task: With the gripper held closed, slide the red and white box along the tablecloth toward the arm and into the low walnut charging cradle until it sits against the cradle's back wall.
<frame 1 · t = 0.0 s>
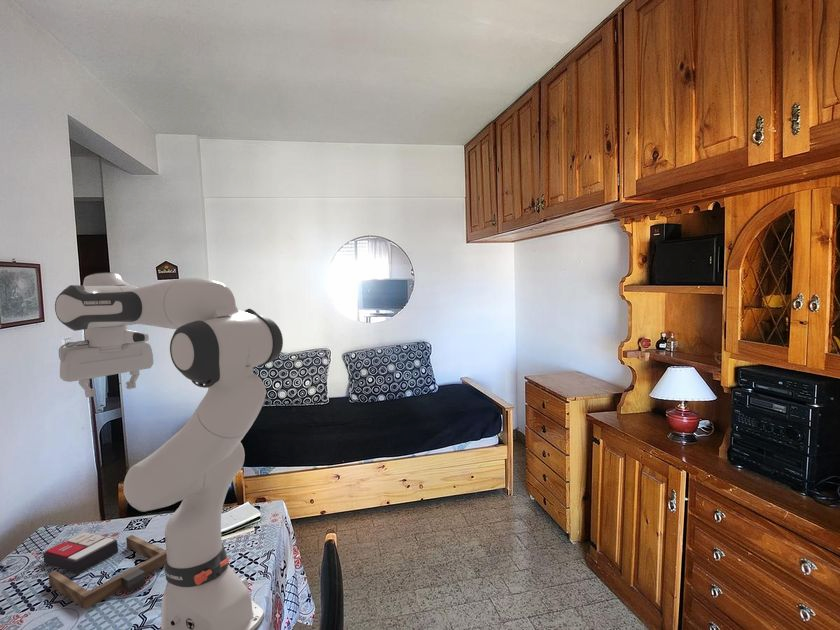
hand: (111, 392, 115), 48 cm above the table, tool pointing down, fingers open, 8 cm apart
cradle: (110, 572, 119), on the table
red and white box: (81, 558, 127), on the table
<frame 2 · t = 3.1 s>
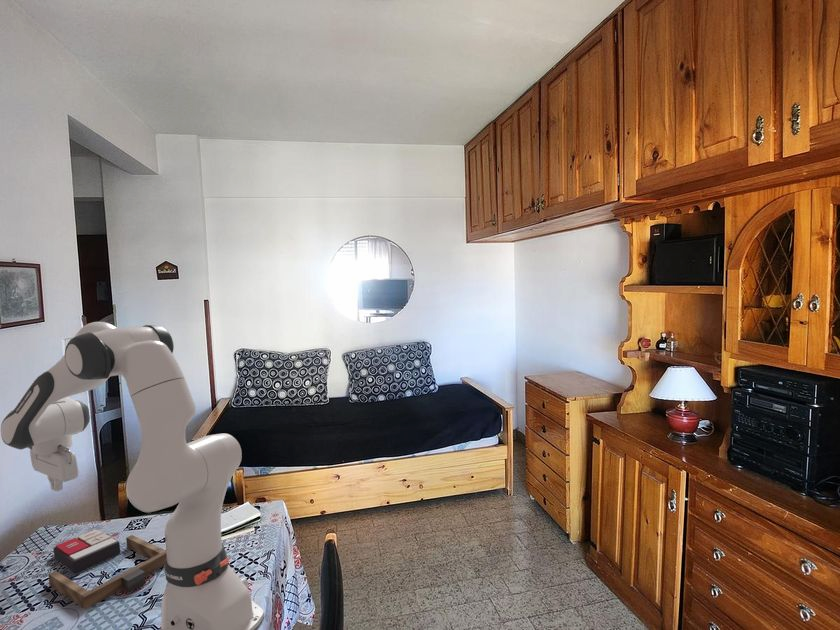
hand: (56, 489, 131), 17 cm above the table, tool pointing down, fingers closed
red and white box: (87, 556, 127), on the table
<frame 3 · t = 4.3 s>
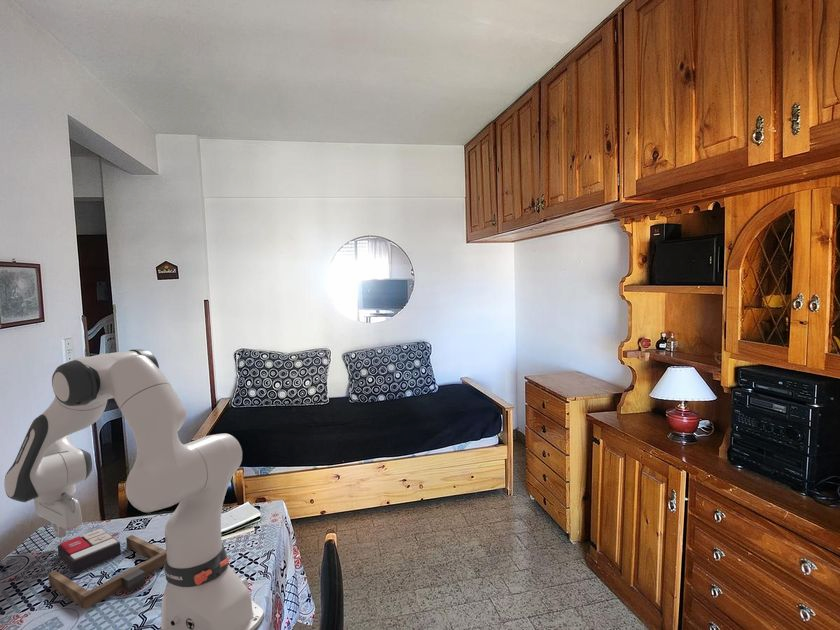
hand: (60, 535, 132), 3 cm above the table, tool pointing down, fingers closed
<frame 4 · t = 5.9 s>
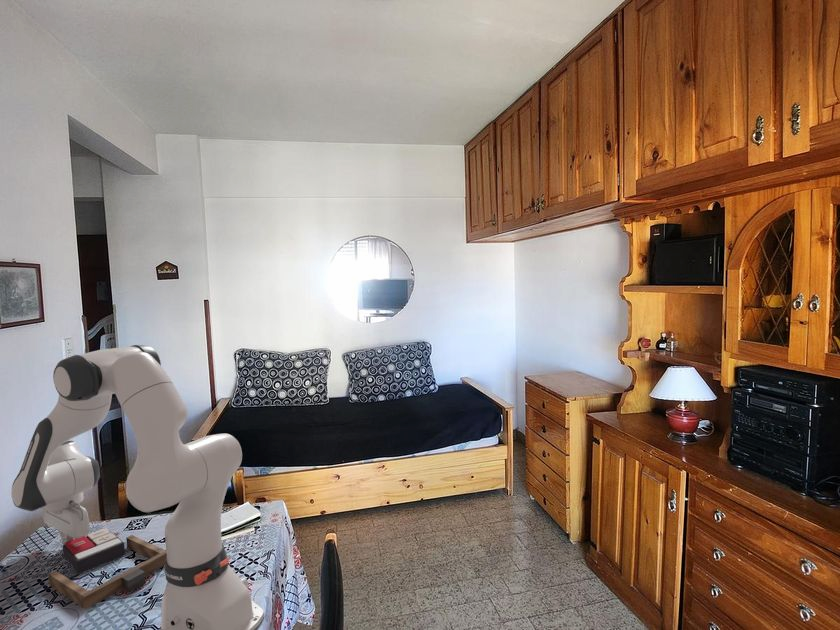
hand: (68, 544, 130), 1 cm above the table, tool pointing down, fingers closed
red and white box: (94, 556, 127), on the table, touching gripper
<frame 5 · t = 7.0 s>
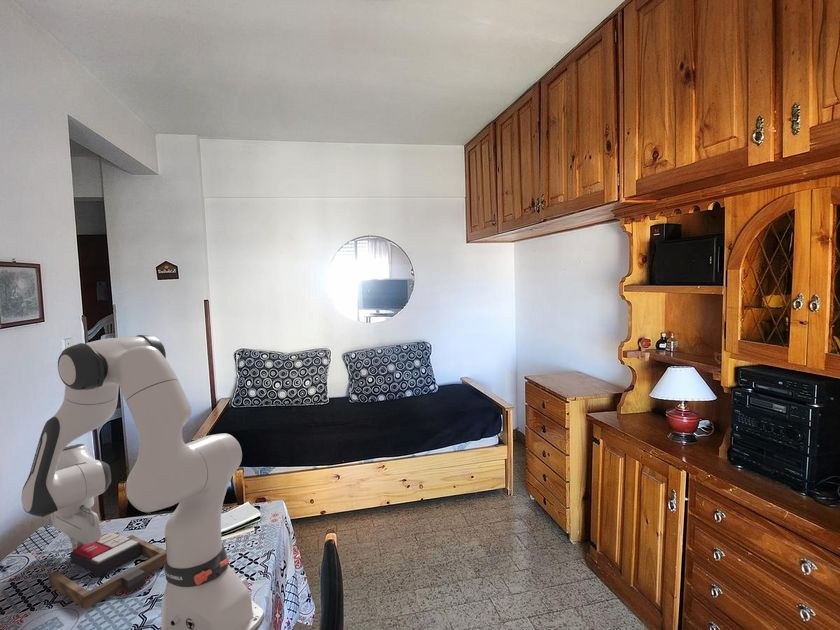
hand: (78, 550, 127), 1 cm above the table, tool pointing down, fingers closed
red and white box: (106, 559, 125), on the table, touching gripper
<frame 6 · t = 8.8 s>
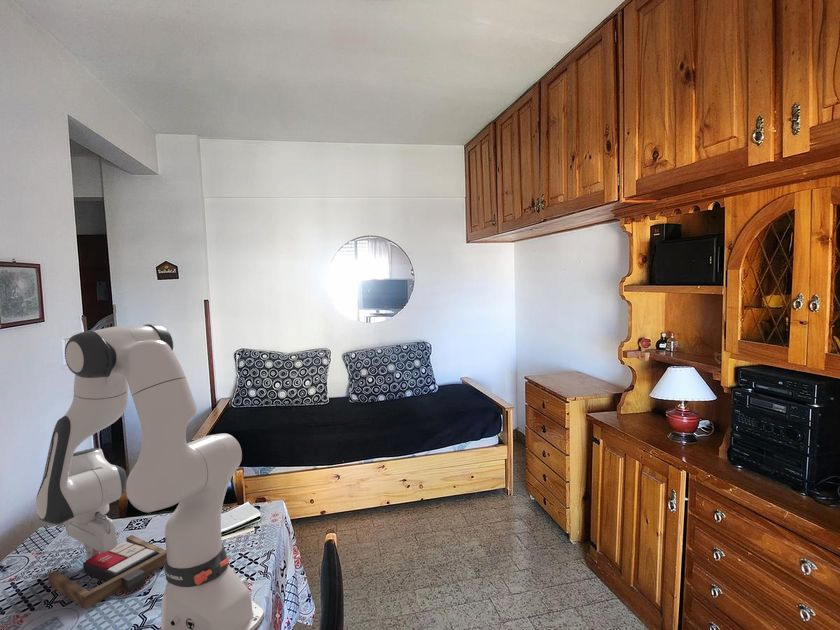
hand: (93, 557, 123), 2 cm above the table, tool pointing down, fingers closed
red and white box: (121, 570, 121), on the table, touching gripper
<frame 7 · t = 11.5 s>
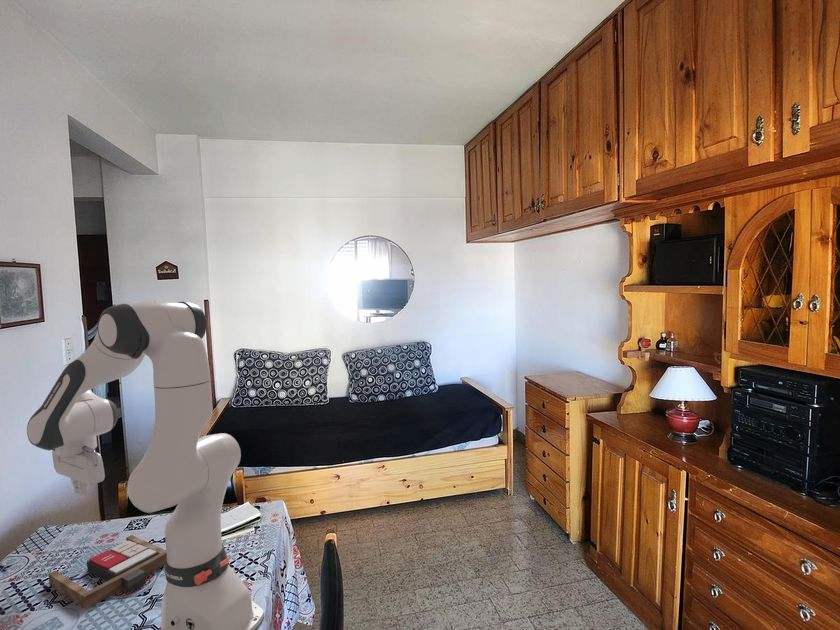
hand: (81, 493, 124), 19 cm above the table, tool pointing down, fingers closed
red and white box: (124, 569, 121), on the table
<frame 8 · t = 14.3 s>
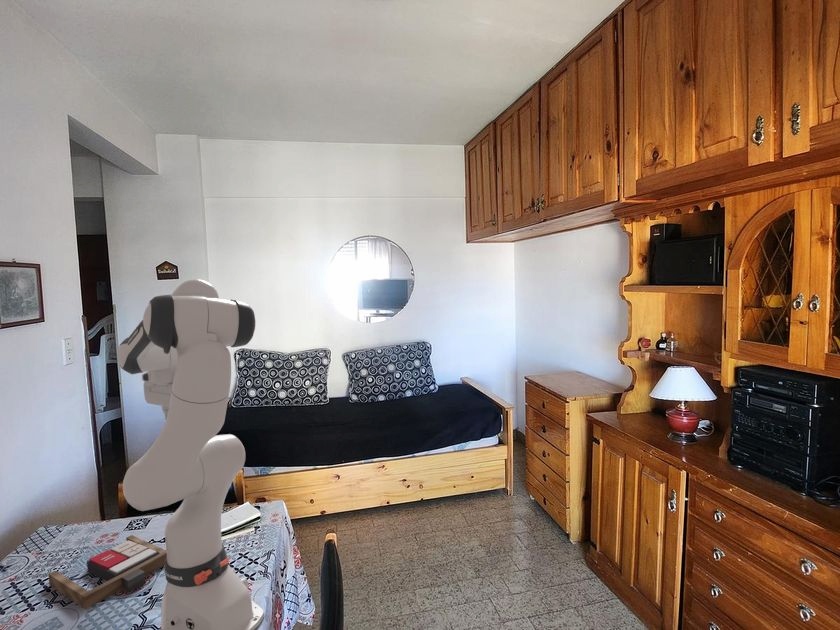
hand: (170, 420, 137), 34 cm above the table, tool pointing down, fingers closed
nothing on the table moved.
at the end: red and white box 3.2 cm off-centre on the cradle, point -0.6 cm above the cradle's base; red and white box tilted 0°; red and white box moved 16.7 cm from its start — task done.
